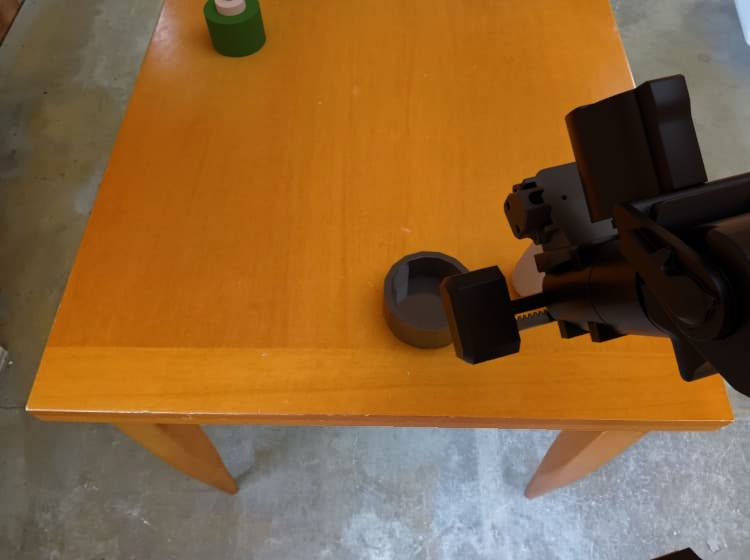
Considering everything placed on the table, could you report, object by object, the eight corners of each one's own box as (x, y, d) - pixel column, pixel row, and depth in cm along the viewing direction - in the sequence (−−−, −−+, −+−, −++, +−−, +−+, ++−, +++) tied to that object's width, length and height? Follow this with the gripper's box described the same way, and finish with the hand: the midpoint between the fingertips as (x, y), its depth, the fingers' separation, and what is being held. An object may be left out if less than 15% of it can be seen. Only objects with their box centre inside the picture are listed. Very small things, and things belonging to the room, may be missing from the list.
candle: (238, 64, 86) (223, 1, 77) (201, 42, 88) (182, -20, 80) (276, 37, 89) (266, -26, 81) (239, 17, 92) (225, -46, 83)
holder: (488, 313, 63) (495, 292, 59) (425, 366, 60) (428, 348, 56) (428, 259, 67) (431, 236, 63) (365, 306, 63) (364, 285, 60)
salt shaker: (563, 311, 63) (602, 242, 52) (511, 311, 63) (539, 242, 52) (555, 267, 66) (590, 193, 55) (505, 267, 66) (530, 193, 55)
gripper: (739, 121, 35) (603, 178, 50) (450, 187, 32) (401, 226, 48) (785, 298, 35) (635, 301, 50) (498, 379, 32) (433, 355, 47)
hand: (528, 292), depth 49 cm, fingers open, 9 cm apart
